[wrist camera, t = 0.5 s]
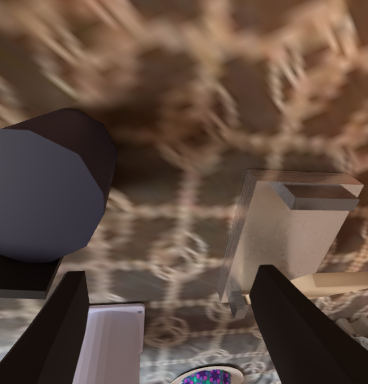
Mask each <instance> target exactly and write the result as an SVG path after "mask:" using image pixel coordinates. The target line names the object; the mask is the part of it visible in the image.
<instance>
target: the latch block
mask: <svg viewBox="0 0 368 384" xmlns="http://www.w3.org/2000/svg"><path fill="white" fill-rule="evenodd" d="M363 186H364V185H363V184H362V183H360V182H359V181H357V180H356V179H354V178H353V177H351V176H350V175H348V174H347V173H326V172H304V171H283V170H261V169H247V173H246V176H245V180H244V184H243V188H242V191H241V195H240V199H239V202H238V206H237V210H236V214H235V217H234V221H233V225H232V229H231V232H230V236H229V240H228V243H227V247H226V251H225V255H224V258H223V262H222V266H221V270H220V273H219V277H218V281H217V285H216V287H217V291H218V294H219V298H220V301H221V303H224V302H229V305H230V308H231V311H232V314H233V317H234V319H244V318H245V315H246V313H247V310H248V309H247V306H246V304H245V301H244V299H243V296H245V295H248V294H250V291H251V288H252V285H253V282H254V279H255V277H256V274H257V271H258V268H259V265H267V264H273V265H274V266H275V267H276V268H277V269H278V270H279V271H280V272H281V273H282V274H283V275H284V276H285V277H286V278H287V279H288V280H289V281H290V280H293V279H296V278H299V277H302V276H305V275H308V274H312V273H316V271H317V270H318V268H319V266H320V264H321V262H322V261H323V259H324V257H325V255H326V253H327V251H328V250H329V248H330V246H331V244H332V242H333V241H334V239H335V237H336V235H337V233H338V232H339V230H340V228H341V226H342V224H343V222H344V221H345V219H346V217H347V215H348V213H349V212H350V211H354V209H355V208H356V206H357V204H358V202H359V200H360V199H359V198H357V197H358V195H359V193H360V192H361V190H362V188H363Z"/></svg>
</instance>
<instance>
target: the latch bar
mask: <svg viewBox="0 0 368 384" xmlns="http://www.w3.org/2000/svg"><path fill="white" fill-rule="evenodd" d="M290 282H292V283H293V284H294V285H295V286H296V287H297V288H298V289H299V290H300V291H301V292H302V293H303V294H304V295H305V296H306V297H307V298H308V299H312V298H317V297H323V296H328V295H334V294H339V293H344V292H350V291H355V290H361V289H366V288H368V272H340V273H312V274H308V275H305V276H302V277H299V278H296V279H293V280H290ZM243 299H244V301H245V304H246V305H251V302H250V298H249V294H248V295H245V296H243Z"/></svg>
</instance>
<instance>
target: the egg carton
mask: <svg viewBox="0 0 368 384" xmlns="http://www.w3.org/2000/svg"><path fill="white" fill-rule="evenodd" d="M334 323H335V324H337V325H338V326H339V327H340V328H341V329H342V330H343V331H345V332H346V333H347V334H348V335H349V336H351V337H352V338H353V339H354V340H356V341H357V342H358V343H359V344H361V345H362V346H363V347H364V348H366V349H367V350H368V318H367V317H361V318H359V319H358V320H356V321H354V322H350V323H349V322H348V321H347V319H346V318H340V319H338V320H337V321H336V322H334Z"/></svg>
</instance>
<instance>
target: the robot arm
mask: <svg viewBox="0 0 368 384" xmlns="http://www.w3.org/2000/svg"><path fill="white" fill-rule="evenodd" d="M249 298H250V302H251V306H252V309H253V313H254V316H255V319H256V322H257V325H258V327H259V330H260V332H261V334H262V337H263V339H264V342H265V344H266V347H267V349H268V351H269V354H270V356H271V359H272V361H273V363H274V366H275V368H276V371H277V373H278V375H279V378H280V381H281V383H282V384H368V350H367V349H366V348H364V347H363V346H362V345H361V344H359V343H358V342H357V341H356V340H354V339H353V338H352V337H351V336H349V335H348V334H347V333H346V332H345V331H343V330H342V329H341V328H340V327H339V326H338V325H337V324H335V323H334V322H333V321H332V320H331V319H330V318H329V317H327V316H326V315H325V314H324V313H323V312H322V311H321V310H320V309H319V308H318V307H316V306H315V305H314V304H313V303H312V302H311V301H310V300H309V299H308V298H307V297H306V296H305V295H304V294H303V293H302V292H301V291H300V290H299V289H298V288H297V287H296V286H295V285H294V284H293V283H292V282H290V281H289V280H288V279H287V278H286V277H285V276H284V275H283V274H282V273H281V272H280V271H279V270H278V269H277V268H276V267H275V266H274V265H273V264H267V265H259V268H258V271H257V274H256V277H255V279H254V282H253V285H252V288H251V291H250V294H249ZM89 305H90V304H89V297H88V290H87V283H86V276H85V271H68V272H67V273H66V274H65V275H64V276H63V278H62V280H61V281H60V283H59V284H58V286H57V287H56V289H55V290H54V292H53V293H52V295H51V296H50V298H49V299H48V301H47V302H46V304H45V305H44V306H43V308H42V309H41V310H40V312H39V313H38V315H37V316H36V317H35V319H34V320H33V321H32V323H31V324H30V325H29V327H28V328H27V329H26V331H25V332H24V333H23V334H22V336H21V337H20V338H19V339H18V341H17V342H16V343H15V344H14V346H13V347H12V348H11V349H10V351H9V352H8V353H7V354H6V356H5V357H4V358H3V359H2V360H1V362H0V384H139V375H140V353H142V352H143V334H144V315H145V305H144V304H142V303H136V304H115V305H94V306H89Z"/></svg>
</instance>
